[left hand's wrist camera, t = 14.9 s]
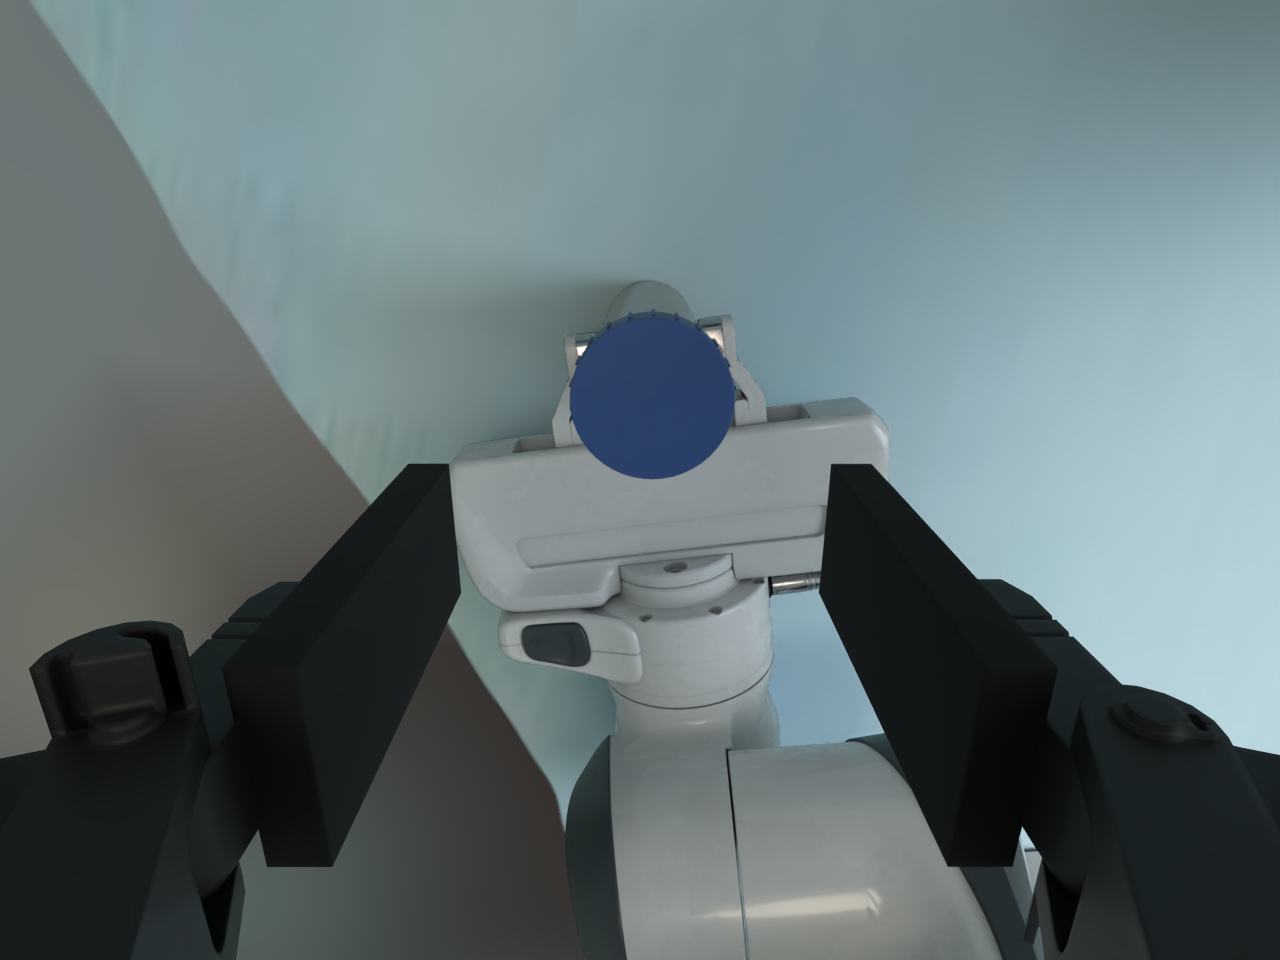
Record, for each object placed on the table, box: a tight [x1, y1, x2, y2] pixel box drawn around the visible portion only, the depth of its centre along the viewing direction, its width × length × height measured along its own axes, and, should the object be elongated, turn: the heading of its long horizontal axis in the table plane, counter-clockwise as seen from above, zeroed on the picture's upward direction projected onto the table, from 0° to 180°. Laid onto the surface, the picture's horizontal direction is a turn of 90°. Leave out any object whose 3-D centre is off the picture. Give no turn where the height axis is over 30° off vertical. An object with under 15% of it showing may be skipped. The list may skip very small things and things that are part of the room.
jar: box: [603, 281, 696, 328], centre depth 31 cm, size 4×4×16 cm
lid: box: [569, 309, 736, 479], centre depth 24 cm, size 5×5×2 cm
